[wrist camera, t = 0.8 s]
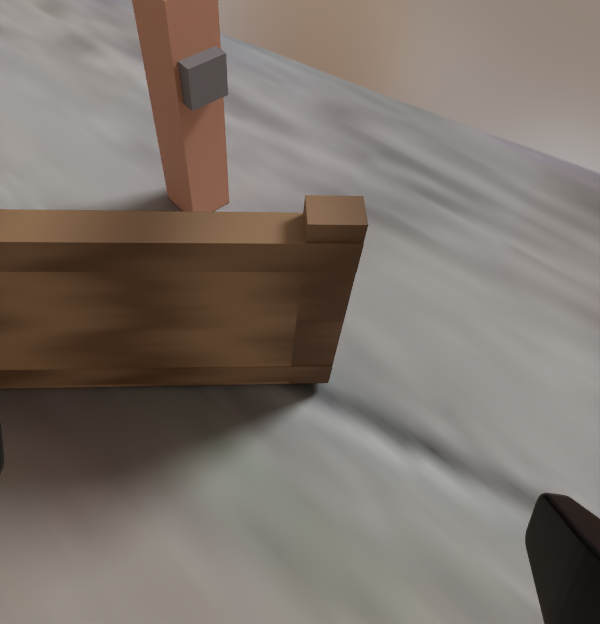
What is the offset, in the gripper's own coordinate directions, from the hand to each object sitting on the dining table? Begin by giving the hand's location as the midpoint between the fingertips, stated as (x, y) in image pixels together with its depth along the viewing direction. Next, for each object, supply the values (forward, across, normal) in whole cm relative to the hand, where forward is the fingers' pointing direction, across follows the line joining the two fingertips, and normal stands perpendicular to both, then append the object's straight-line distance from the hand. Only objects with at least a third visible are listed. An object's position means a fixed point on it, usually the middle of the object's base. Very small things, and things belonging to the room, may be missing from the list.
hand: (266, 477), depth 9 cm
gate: (+14, +6, +6) cm, 16 cm away
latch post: (+24, +7, 0) cm, 25 cm away
